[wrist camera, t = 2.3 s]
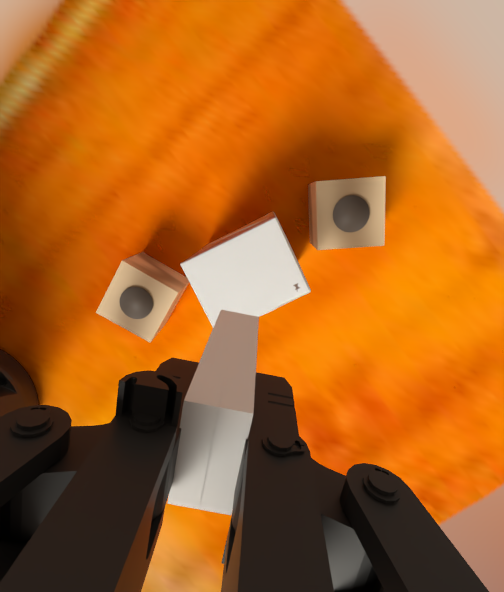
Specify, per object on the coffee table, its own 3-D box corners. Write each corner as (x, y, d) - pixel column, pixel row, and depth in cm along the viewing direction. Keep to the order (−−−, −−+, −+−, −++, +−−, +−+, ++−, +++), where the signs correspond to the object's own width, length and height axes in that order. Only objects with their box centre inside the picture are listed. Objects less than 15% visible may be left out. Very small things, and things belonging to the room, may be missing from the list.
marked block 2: (309, 242, 39) (318, 250, 33) (307, 184, 37) (316, 181, 31) (366, 238, 38) (385, 245, 32) (366, 179, 37) (386, 175, 31)
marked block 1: (119, 296, 41) (95, 313, 35) (143, 251, 39) (121, 260, 33) (166, 322, 41) (149, 343, 35) (190, 279, 40) (177, 293, 34)
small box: (273, 209, 38) (277, 214, 25) (297, 263, 39) (314, 293, 27) (205, 243, 39) (177, 263, 26) (231, 294, 40) (217, 337, 28)
